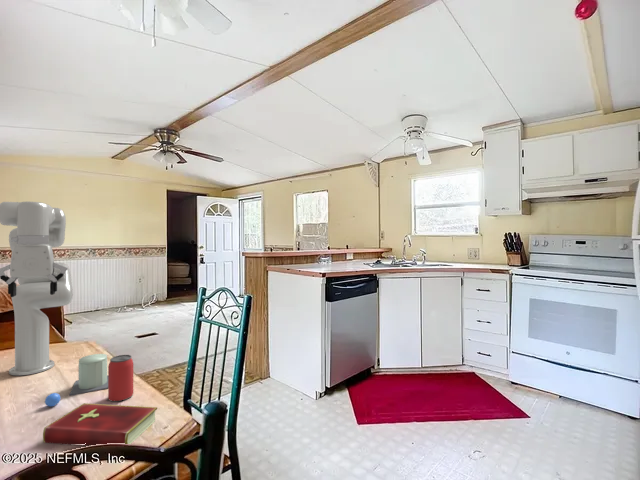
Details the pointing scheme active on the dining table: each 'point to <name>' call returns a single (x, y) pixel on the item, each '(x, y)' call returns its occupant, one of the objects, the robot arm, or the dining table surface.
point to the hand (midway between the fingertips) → (33, 295)
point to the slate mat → (78, 390)
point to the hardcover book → (100, 425)
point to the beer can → (120, 378)
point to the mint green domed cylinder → (92, 371)
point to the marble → (52, 399)
